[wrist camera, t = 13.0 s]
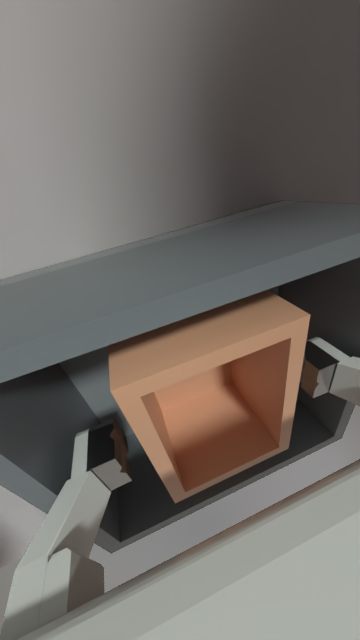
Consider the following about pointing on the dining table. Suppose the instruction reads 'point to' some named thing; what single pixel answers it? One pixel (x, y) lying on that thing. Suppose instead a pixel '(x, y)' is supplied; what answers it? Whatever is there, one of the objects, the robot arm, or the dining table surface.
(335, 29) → the dining table surface
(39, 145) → the dining table surface
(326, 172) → the dining table surface
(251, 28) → the dining table surface
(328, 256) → the big crate
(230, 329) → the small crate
